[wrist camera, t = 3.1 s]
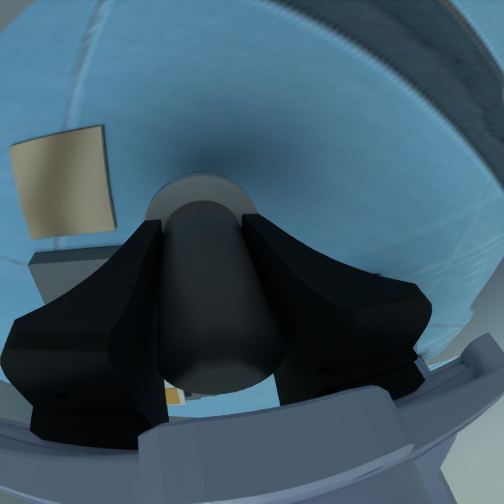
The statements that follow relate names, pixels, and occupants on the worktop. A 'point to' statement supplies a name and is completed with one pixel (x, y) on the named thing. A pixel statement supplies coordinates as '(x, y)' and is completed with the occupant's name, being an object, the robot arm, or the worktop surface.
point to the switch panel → (72, 274)
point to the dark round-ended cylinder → (210, 290)
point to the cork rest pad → (64, 183)
